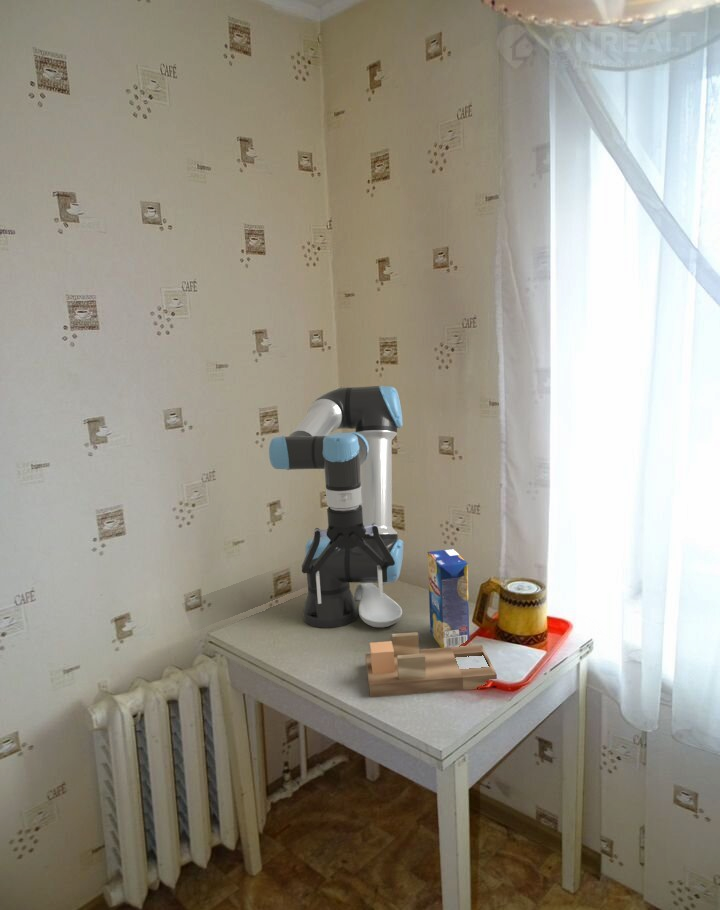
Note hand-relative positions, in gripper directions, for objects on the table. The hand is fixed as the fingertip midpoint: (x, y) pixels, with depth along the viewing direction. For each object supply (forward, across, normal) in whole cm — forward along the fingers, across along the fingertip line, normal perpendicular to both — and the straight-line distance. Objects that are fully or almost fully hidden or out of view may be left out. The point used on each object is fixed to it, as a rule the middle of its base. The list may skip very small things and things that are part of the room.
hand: (350, 598), depth 149 cm
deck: (+21, +17, 0) cm, 27 cm away
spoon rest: (+22, +8, +36) cm, 43 cm away
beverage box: (+21, +25, +17) cm, 37 cm away
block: (+18, +6, +1) cm, 19 cm away
